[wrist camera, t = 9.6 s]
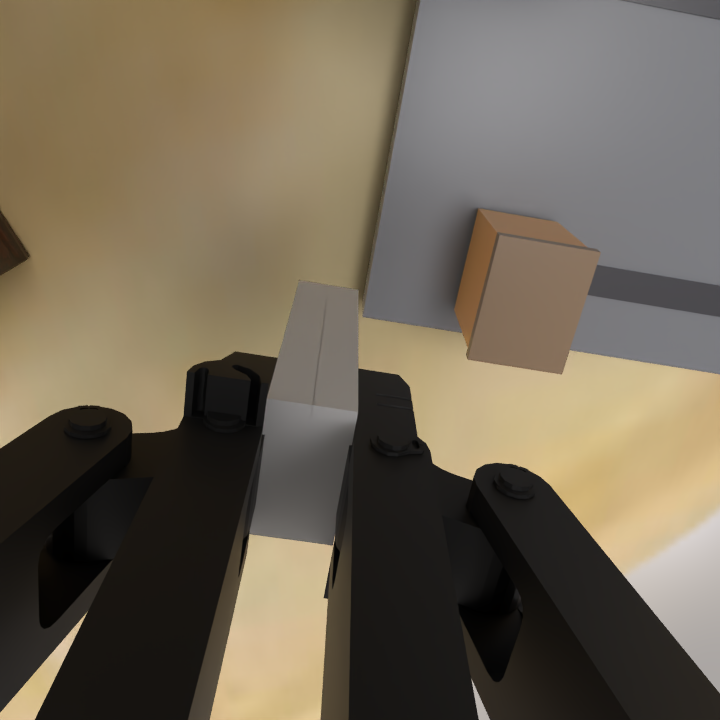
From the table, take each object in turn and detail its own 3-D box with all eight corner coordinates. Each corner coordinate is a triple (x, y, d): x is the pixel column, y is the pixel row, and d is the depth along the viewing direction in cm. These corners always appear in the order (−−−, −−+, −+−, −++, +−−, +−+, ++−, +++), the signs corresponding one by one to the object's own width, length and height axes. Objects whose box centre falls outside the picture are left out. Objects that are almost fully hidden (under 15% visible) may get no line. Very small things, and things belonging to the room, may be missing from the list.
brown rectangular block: (450, 311, 27) (467, 359, 22) (476, 205, 25) (499, 235, 21) (530, 324, 27) (561, 374, 23) (560, 219, 25) (600, 252, 21)
